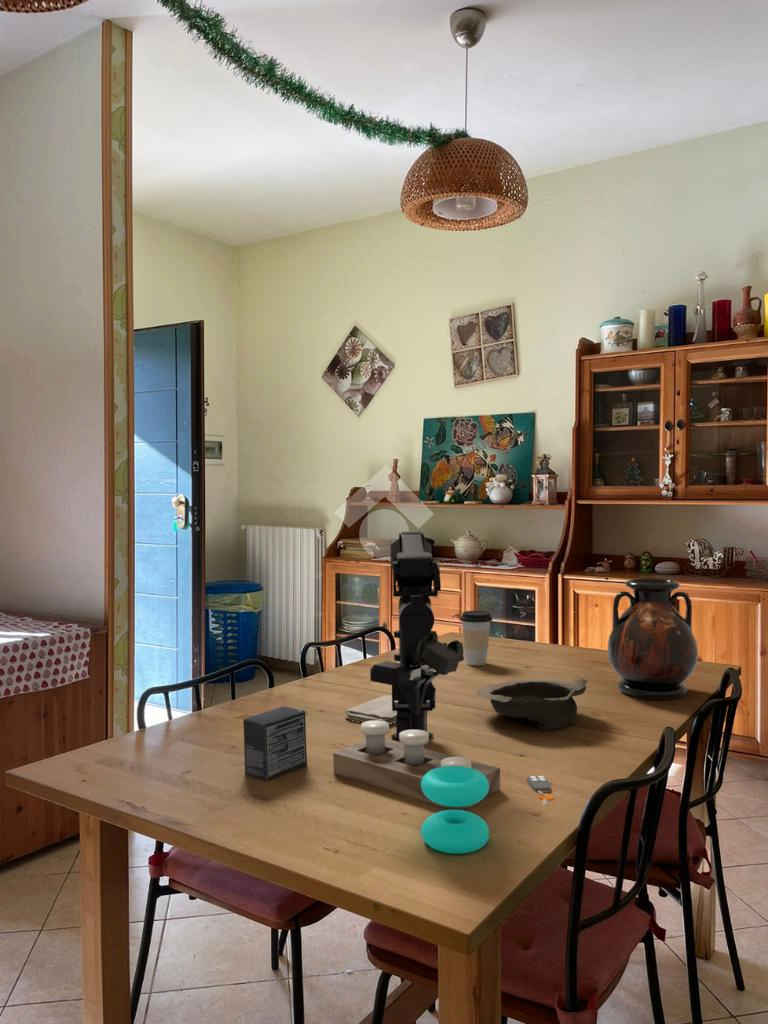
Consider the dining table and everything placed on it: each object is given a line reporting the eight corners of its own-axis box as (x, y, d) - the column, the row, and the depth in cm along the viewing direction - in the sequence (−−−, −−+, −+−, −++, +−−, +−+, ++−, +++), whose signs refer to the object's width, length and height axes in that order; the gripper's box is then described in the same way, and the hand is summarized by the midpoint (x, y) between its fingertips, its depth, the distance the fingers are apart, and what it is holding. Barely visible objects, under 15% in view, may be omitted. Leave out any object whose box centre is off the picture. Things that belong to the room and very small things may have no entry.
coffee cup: (455, 661, 235) (455, 611, 234) (484, 659, 237) (484, 609, 237) (468, 668, 226) (467, 616, 225) (498, 665, 228) (497, 614, 228)
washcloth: (342, 722, 178) (341, 708, 178) (385, 703, 193) (385, 690, 193) (386, 730, 171) (386, 716, 171) (428, 710, 186) (427, 697, 186)
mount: (375, 755, 154) (375, 736, 154) (500, 789, 136) (499, 768, 136) (333, 773, 145) (333, 752, 145) (461, 812, 127) (460, 789, 127)
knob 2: (452, 784, 139) (452, 754, 138) (477, 791, 135) (477, 761, 135) (435, 793, 134) (434, 763, 134) (460, 800, 131) (460, 769, 131)
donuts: (502, 774, 117) (458, 793, 110) (503, 841, 117) (459, 864, 110) (451, 758, 124) (406, 775, 117) (451, 821, 124) (407, 841, 117)
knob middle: (411, 755, 144) (411, 727, 144) (434, 762, 141) (434, 733, 141) (393, 763, 140) (393, 734, 140) (417, 770, 137) (416, 740, 137)
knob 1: (373, 745, 150) (373, 718, 150) (395, 751, 147) (394, 723, 146) (355, 753, 146) (355, 725, 146) (377, 759, 143) (376, 730, 142)
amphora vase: (684, 682, 208) (684, 576, 207) (709, 705, 187) (710, 586, 186) (600, 680, 210) (600, 575, 209) (616, 703, 189) (616, 586, 188)
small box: (284, 758, 153) (283, 704, 153) (308, 765, 149) (307, 710, 149) (242, 773, 145) (241, 717, 145) (266, 782, 141) (265, 723, 141)
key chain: (524, 782, 141) (524, 774, 141) (545, 782, 141) (545, 773, 141) (542, 812, 128) (541, 803, 128) (564, 811, 128) (564, 802, 128)
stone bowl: (594, 738, 163) (591, 693, 162) (473, 740, 168) (469, 697, 167) (588, 703, 187) (585, 664, 187) (482, 706, 192) (479, 668, 192)
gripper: (420, 640, 127) (421, 736, 128) (482, 622, 142) (482, 708, 142) (367, 632, 134) (368, 723, 135) (431, 616, 149) (432, 698, 149)
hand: (415, 713), depth 140 cm, fingers closed
